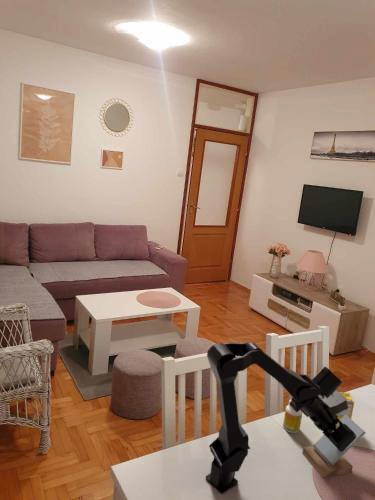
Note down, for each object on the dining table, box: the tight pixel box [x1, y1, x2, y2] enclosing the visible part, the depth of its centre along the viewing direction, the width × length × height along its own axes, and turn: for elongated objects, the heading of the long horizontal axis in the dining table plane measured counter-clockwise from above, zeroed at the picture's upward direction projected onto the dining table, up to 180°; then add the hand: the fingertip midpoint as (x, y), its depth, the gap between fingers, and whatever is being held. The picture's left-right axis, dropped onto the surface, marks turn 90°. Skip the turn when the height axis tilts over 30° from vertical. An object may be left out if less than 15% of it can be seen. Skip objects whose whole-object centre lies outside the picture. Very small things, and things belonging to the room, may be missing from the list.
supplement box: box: [336, 391, 355, 420], centre depth 135 cm, size 6×6×11 cm
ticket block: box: [302, 445, 353, 479], centre depth 117 cm, size 10×10×2 cm
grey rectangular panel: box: [312, 414, 366, 467], centre depth 117 cm, size 1×8×14 cm
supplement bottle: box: [282, 399, 303, 434], centre depth 131 cm, size 5×5×10 cm
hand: (338, 436), depth 117 cm, fingers closed
